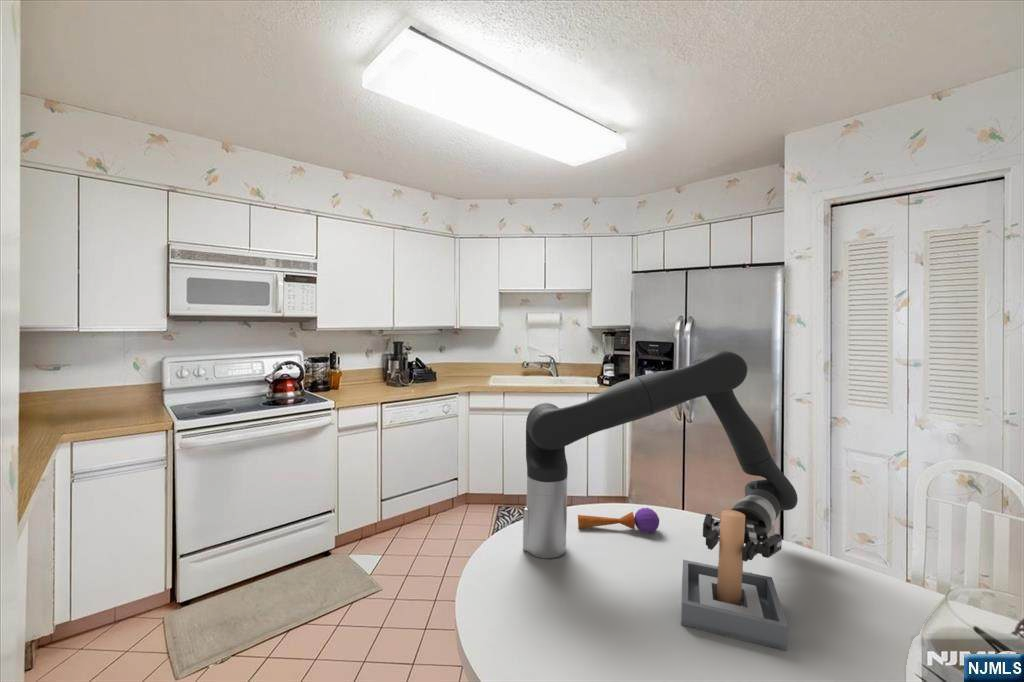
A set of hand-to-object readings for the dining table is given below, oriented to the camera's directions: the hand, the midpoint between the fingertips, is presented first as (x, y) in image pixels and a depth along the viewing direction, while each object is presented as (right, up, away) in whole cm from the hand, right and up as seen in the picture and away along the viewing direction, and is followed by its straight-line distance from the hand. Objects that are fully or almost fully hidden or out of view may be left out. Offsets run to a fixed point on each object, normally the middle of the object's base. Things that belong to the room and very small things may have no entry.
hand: (726, 549), depth 80 cm
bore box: (+2, -12, +3) cm, 13 cm away
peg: (+2, -12, +3) cm, 12 cm away
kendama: (-11, -11, +33) cm, 37 cm away
